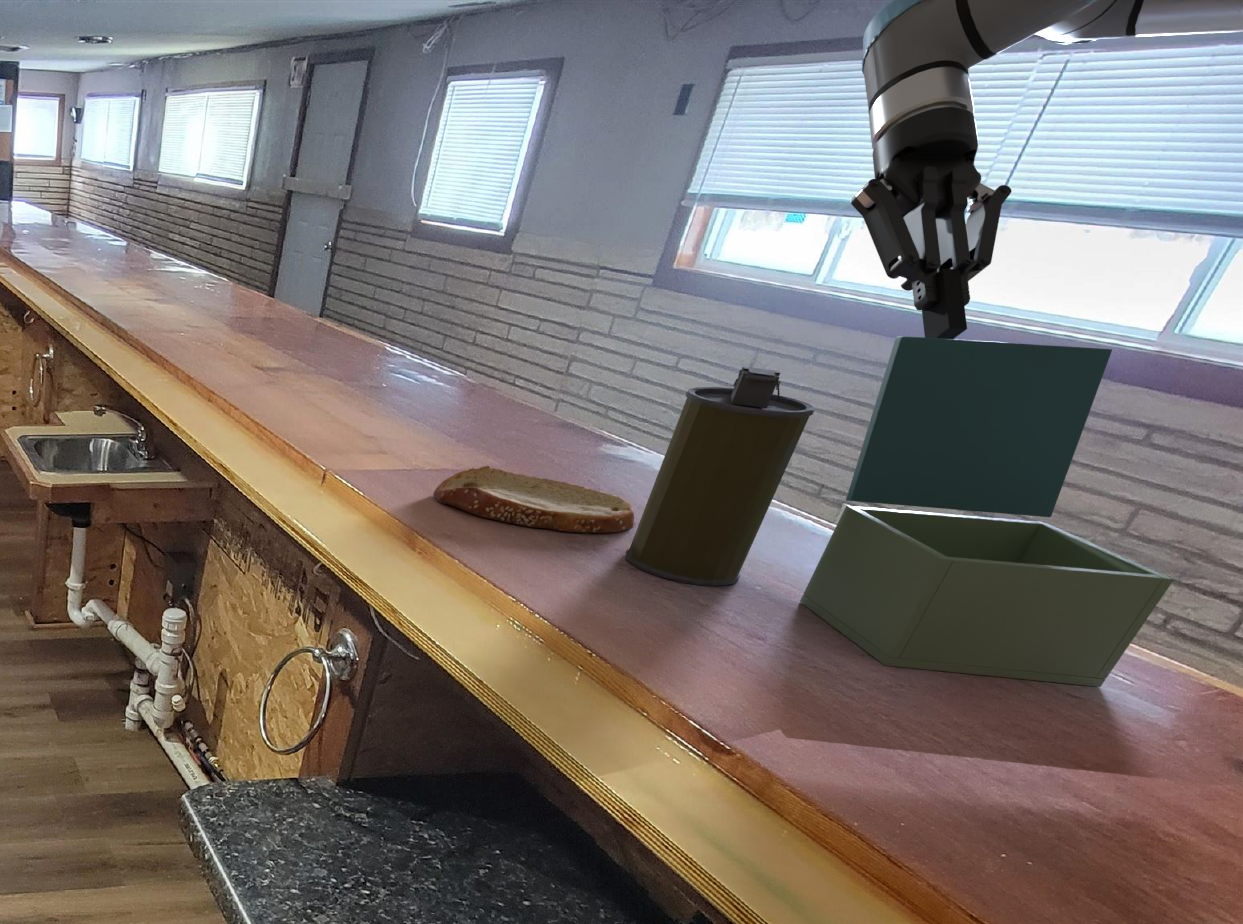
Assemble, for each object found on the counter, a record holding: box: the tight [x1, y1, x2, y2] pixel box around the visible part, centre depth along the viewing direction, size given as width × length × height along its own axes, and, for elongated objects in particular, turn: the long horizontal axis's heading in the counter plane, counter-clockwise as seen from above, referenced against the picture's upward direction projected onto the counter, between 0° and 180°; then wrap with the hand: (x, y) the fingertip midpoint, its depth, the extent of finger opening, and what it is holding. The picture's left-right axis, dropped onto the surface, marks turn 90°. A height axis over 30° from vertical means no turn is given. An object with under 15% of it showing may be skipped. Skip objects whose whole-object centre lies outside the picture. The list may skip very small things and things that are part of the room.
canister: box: [625, 366, 816, 587], centre depth 97 cm, size 11×10×20 cm
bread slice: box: [433, 465, 636, 534], centre depth 115 cm, size 18×18×4 cm
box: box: [799, 505, 1175, 688], centre depth 86 cm, size 14×17×10 cm
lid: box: [845, 335, 1113, 518], centre depth 89 cm, size 14×17×4 cm
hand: (946, 337), depth 91 cm, fingers closed
